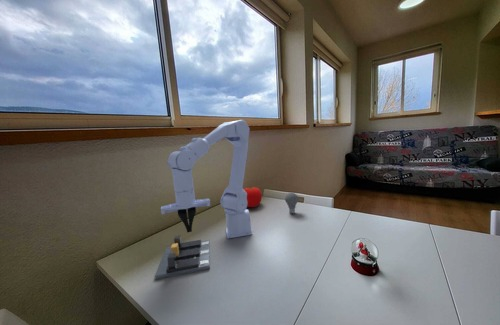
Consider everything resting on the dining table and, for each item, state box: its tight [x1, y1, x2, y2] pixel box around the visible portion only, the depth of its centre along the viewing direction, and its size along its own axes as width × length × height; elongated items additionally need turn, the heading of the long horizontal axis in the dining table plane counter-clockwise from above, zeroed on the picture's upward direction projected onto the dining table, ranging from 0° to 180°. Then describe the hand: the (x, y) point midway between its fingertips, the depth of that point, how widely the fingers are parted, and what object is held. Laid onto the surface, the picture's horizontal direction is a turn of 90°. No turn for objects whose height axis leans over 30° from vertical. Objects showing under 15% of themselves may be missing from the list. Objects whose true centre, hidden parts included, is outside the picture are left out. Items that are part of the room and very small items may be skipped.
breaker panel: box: [154, 234, 211, 280], centre depth 64 cm, size 15×15×5 cm
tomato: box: [243, 186, 263, 208], centre depth 107 cm, size 11×12×10 cm
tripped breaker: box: [171, 243, 179, 256], centre depth 63 cm, size 2×2×3 cm
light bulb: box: [284, 192, 299, 214], centre depth 94 cm, size 6×6×10 cm
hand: (189, 230), depth 64 cm, fingers closed
